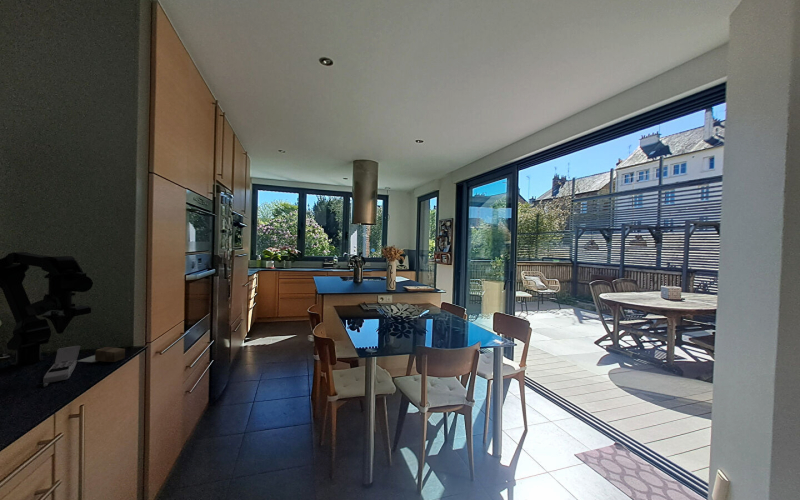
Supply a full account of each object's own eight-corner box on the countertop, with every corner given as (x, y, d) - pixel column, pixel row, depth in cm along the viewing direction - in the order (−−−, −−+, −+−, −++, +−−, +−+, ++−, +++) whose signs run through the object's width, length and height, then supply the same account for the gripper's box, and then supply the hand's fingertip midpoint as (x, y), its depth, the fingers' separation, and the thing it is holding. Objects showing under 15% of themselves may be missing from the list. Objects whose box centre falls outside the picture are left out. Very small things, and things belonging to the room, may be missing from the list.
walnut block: (95, 350, 115) (114, 352, 115) (106, 346, 119) (125, 349, 119) (95, 360, 116) (114, 363, 115) (106, 356, 120) (124, 359, 119)
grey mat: (76, 362, 115) (76, 361, 115) (94, 356, 121) (94, 355, 121) (94, 363, 114) (94, 362, 114) (111, 357, 120) (111, 356, 120)
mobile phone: (81, 344, 118) (67, 365, 98) (81, 359, 118) (67, 383, 98) (58, 347, 114) (39, 370, 94) (58, 363, 114) (39, 389, 95)
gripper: (7, 293, 103) (7, 338, 103) (56, 295, 101) (55, 341, 102) (48, 288, 114) (48, 329, 115) (92, 290, 112) (92, 332, 113)
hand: (60, 333), depth 111 cm, fingers closed
